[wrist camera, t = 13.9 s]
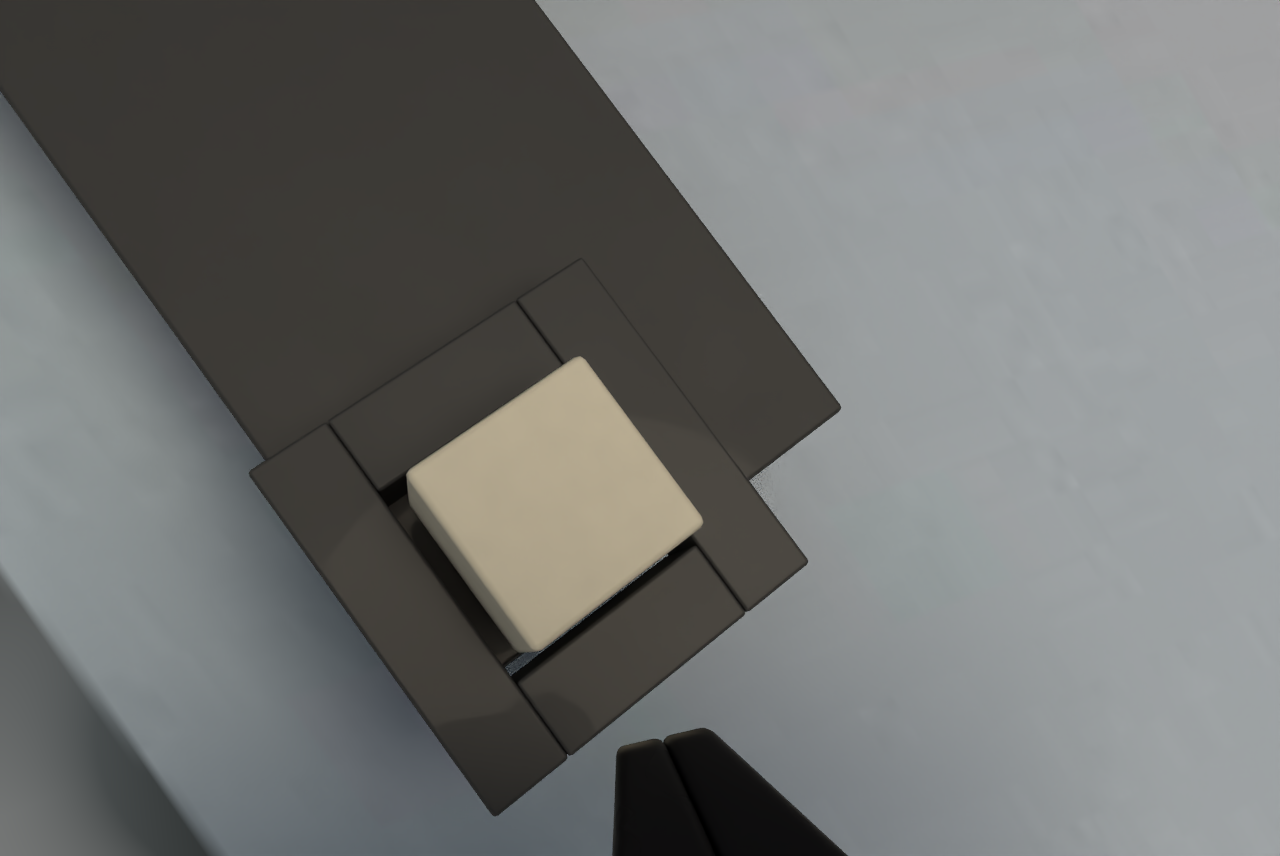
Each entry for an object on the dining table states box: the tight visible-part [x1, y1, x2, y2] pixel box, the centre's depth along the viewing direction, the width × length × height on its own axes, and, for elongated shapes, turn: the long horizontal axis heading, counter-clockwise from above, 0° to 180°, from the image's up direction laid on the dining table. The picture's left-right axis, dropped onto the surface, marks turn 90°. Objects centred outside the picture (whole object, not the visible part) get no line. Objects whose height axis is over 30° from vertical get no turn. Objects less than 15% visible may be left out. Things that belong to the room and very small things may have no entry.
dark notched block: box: [0, 0, 841, 816], centre depth 18 cm, size 19×8×6 cm, turn 37°
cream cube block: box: [406, 356, 703, 653], centre depth 13 cm, size 3×3×2 cm
